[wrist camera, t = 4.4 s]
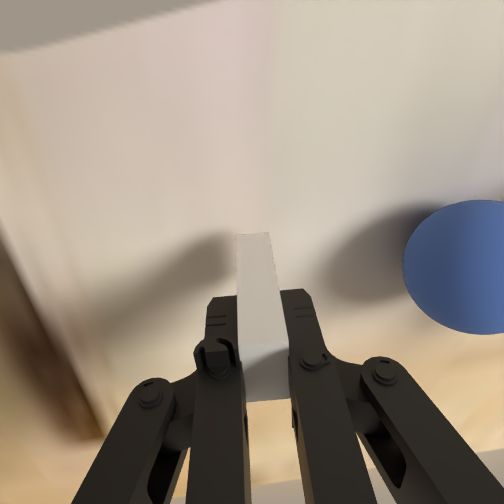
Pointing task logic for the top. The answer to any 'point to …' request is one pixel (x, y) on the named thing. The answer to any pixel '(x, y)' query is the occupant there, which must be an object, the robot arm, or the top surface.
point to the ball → (459, 266)
